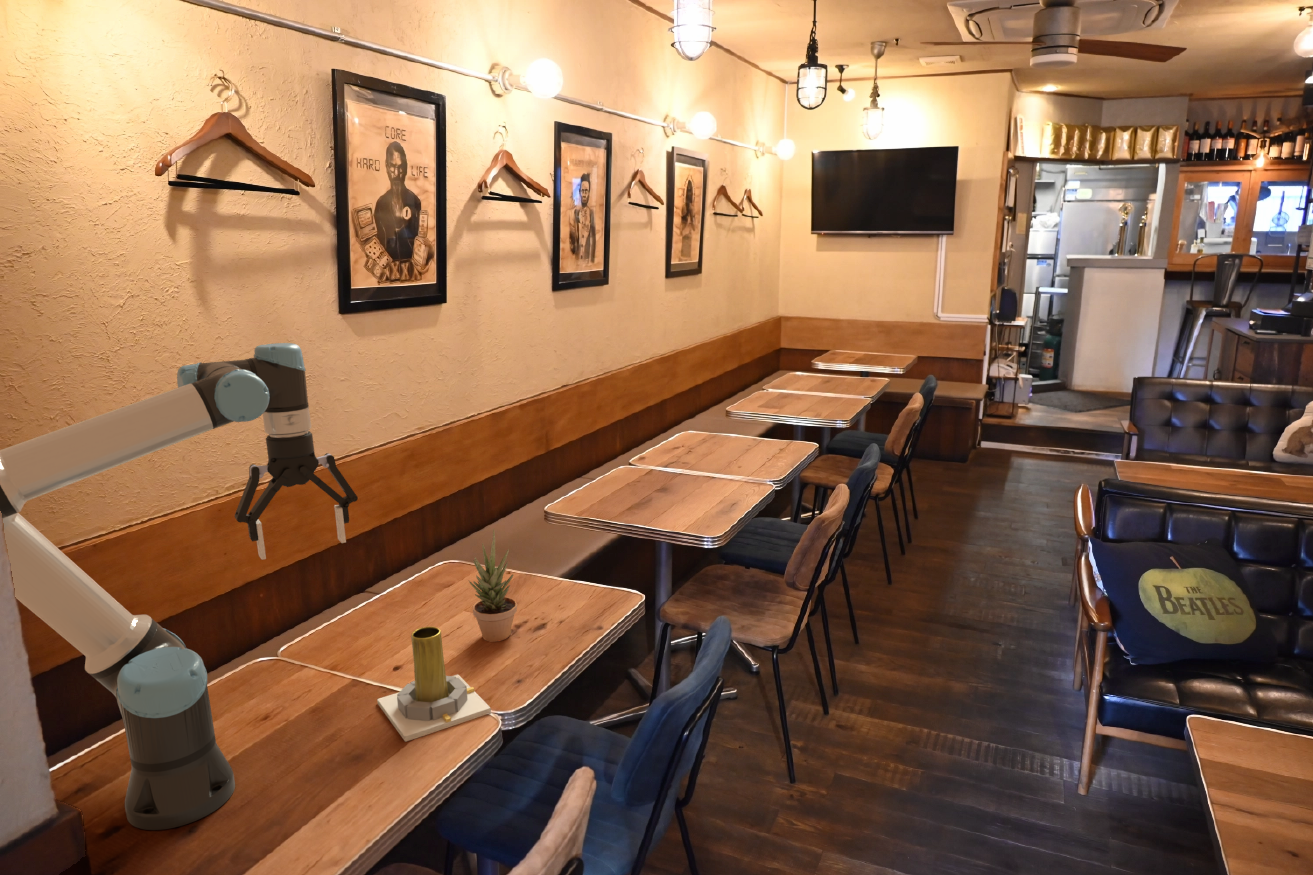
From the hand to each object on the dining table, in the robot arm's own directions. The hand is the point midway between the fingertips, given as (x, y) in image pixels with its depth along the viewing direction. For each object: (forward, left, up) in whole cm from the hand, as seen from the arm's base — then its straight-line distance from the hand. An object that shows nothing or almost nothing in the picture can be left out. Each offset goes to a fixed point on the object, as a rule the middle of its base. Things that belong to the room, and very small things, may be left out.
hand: (303, 549), depth 156 cm
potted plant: (+39, +10, -32) cm, 52 cm away
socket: (+17, -12, -32) cm, 38 cm away
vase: (+17, -12, -31) cm, 37 cm away
